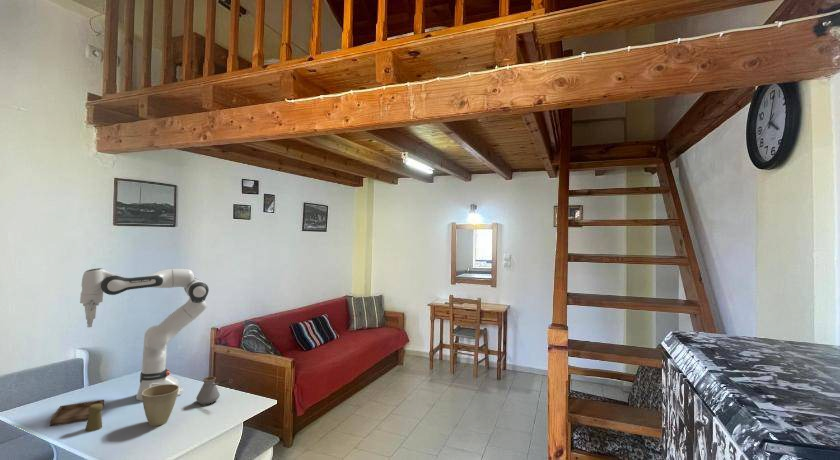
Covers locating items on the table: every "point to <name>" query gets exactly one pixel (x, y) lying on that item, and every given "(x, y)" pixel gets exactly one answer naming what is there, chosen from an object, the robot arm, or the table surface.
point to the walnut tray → (72, 413)
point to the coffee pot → (209, 391)
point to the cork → (94, 418)
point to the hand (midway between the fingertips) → (89, 325)
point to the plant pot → (159, 403)
